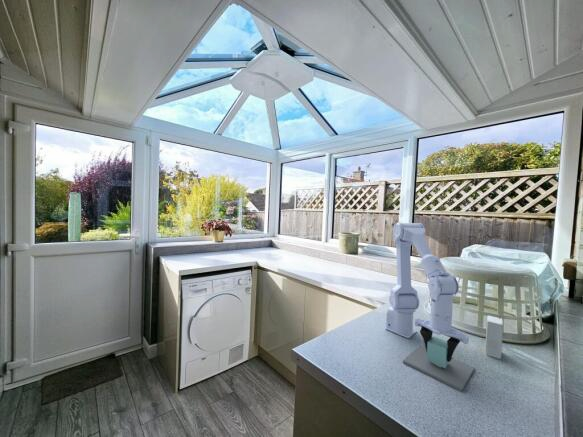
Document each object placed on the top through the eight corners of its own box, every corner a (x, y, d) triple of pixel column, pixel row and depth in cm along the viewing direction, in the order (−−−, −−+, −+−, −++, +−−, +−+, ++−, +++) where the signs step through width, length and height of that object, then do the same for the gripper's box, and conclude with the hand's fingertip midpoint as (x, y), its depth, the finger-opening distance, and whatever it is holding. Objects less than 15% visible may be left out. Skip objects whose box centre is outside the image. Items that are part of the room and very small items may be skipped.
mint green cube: (426, 359, 78) (427, 341, 77) (432, 353, 81) (433, 336, 81) (445, 368, 74) (446, 349, 73) (450, 361, 77) (451, 342, 77)
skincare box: (485, 347, 89) (487, 314, 88) (500, 351, 86) (502, 318, 86) (484, 354, 84) (487, 320, 84) (501, 359, 81) (503, 324, 81)
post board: (402, 362, 79) (403, 344, 78) (420, 346, 88) (421, 330, 88) (461, 391, 67) (463, 370, 66) (474, 369, 76) (475, 351, 76)
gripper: (411, 309, 79) (409, 349, 80) (465, 326, 68) (462, 373, 69) (420, 303, 84) (418, 342, 85) (471, 319, 73) (468, 363, 74)
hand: (438, 355), depth 77 cm, fingers closed on mint green cube, 5 cm apart
